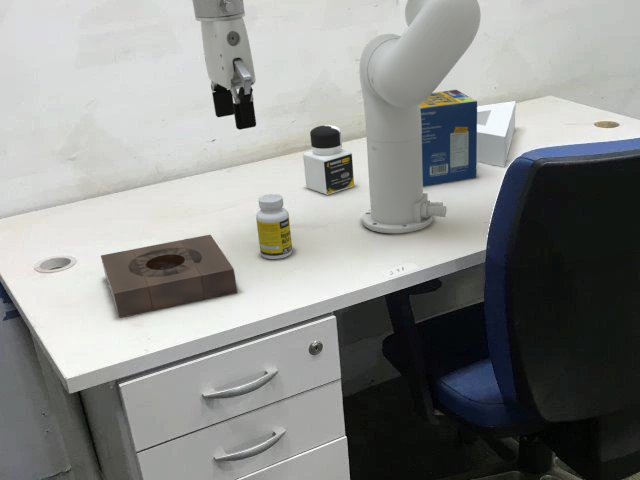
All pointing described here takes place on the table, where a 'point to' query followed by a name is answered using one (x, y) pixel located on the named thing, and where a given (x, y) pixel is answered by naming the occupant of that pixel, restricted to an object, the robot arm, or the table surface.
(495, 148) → the triangle block
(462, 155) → the protein box
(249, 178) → the table surface
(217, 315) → the table surface
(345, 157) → the medicine bottle
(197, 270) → the holder block
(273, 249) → the supplement bottle
